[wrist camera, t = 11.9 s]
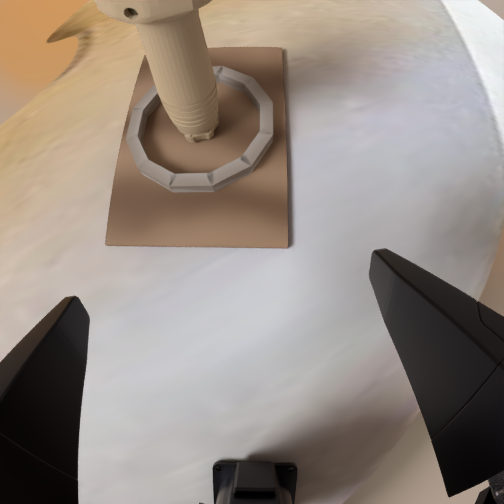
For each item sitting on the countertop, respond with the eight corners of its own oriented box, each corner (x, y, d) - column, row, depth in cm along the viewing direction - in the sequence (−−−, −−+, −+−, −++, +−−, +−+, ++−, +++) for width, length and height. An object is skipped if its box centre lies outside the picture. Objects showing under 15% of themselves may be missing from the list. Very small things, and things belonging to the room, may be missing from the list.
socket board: (287, 248, 23) (289, 243, 21) (107, 245, 23) (97, 241, 21) (281, 51, 26) (282, 38, 24) (145, 58, 26) (141, 47, 24)
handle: (177, 99, 24) (129, -41, 10) (246, 114, 24) (239, -44, 9) (153, 144, 24) (74, 6, 9) (225, 163, 23) (193, 0, 8)
